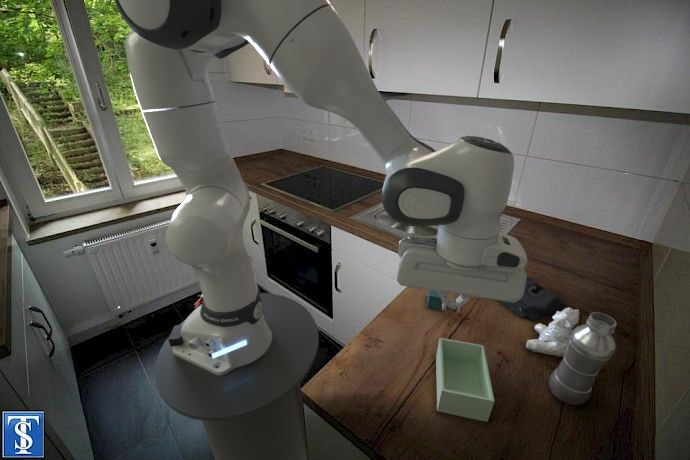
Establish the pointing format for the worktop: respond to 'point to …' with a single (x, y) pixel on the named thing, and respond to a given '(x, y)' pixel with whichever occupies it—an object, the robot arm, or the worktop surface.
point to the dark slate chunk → (535, 302)
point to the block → (434, 300)
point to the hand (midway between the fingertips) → (450, 309)
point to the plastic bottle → (584, 359)
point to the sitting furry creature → (555, 333)
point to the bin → (463, 380)
